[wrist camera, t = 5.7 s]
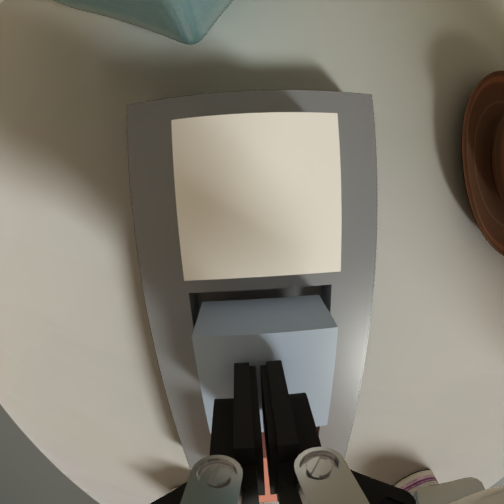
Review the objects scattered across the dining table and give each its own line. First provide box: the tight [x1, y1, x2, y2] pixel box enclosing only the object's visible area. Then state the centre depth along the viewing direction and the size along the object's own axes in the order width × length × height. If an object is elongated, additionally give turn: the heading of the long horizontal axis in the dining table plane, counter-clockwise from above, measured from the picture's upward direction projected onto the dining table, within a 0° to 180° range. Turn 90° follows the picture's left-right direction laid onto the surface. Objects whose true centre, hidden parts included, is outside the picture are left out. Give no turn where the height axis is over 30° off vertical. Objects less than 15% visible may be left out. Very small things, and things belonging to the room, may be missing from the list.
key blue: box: [192, 295, 338, 434], centre depth 12 cm, size 5×5×3 cm
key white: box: [171, 112, 342, 281], centre depth 10 cm, size 5×5×3 cm
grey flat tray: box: [127, 90, 377, 470], centre depth 15 cm, size 10×22×2 cm, turn 3°
